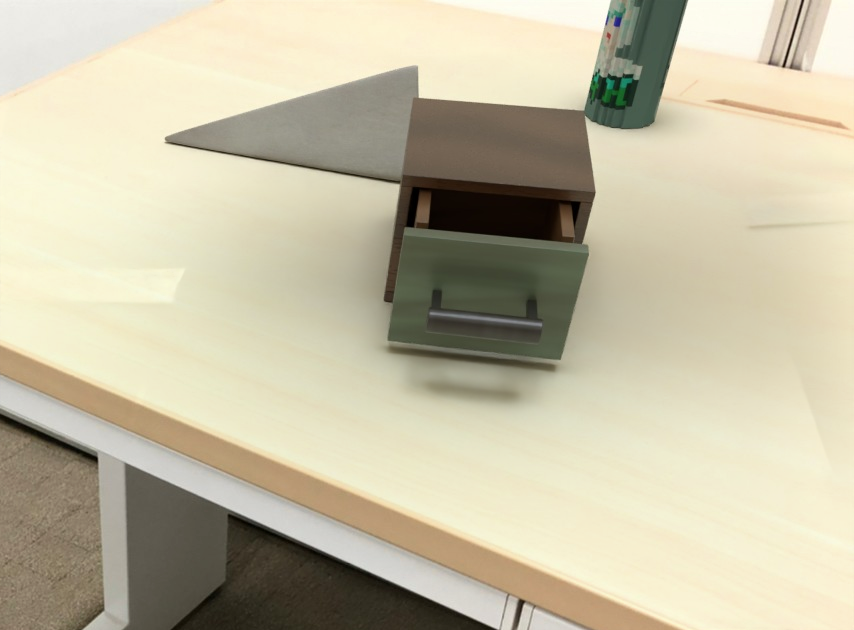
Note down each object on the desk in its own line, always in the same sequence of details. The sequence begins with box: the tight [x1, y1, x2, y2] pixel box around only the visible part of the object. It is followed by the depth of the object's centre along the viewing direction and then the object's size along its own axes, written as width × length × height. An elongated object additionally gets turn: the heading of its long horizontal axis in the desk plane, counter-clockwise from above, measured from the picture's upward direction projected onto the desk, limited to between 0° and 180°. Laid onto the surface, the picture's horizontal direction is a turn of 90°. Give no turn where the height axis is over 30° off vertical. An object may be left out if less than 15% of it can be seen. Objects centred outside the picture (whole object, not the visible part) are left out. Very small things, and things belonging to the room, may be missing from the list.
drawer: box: [387, 187, 590, 361], centre depth 84 cm, size 18×11×8 cm, turn 167°
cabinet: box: [383, 97, 597, 303], centre depth 92 cm, size 15×13×10 cm
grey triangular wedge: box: [164, 64, 420, 182], centre depth 109 cm, size 10×8×22 cm
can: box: [583, 0, 689, 130], centre depth 112 cm, size 6×6×15 cm
